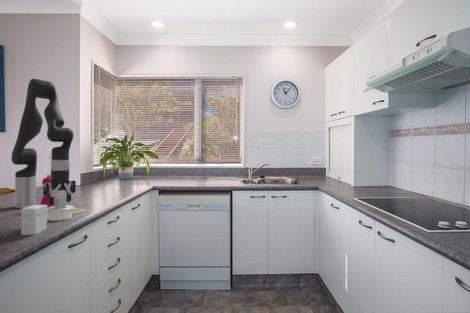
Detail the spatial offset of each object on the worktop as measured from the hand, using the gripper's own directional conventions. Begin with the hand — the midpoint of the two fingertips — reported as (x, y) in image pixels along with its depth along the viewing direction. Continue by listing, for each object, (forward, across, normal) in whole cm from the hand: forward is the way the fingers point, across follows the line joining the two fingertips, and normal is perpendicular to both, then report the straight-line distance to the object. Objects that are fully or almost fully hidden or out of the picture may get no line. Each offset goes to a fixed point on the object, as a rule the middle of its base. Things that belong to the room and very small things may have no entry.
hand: (59, 203), depth 131 cm
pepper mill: (+8, -7, -22) cm, 24 cm away
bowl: (+8, 0, 0) cm, 8 cm away
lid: (+3, 0, 0) cm, 3 cm away
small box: (+8, +16, +10) cm, 21 cm away
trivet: (+8, -11, -10) cm, 17 cm away
